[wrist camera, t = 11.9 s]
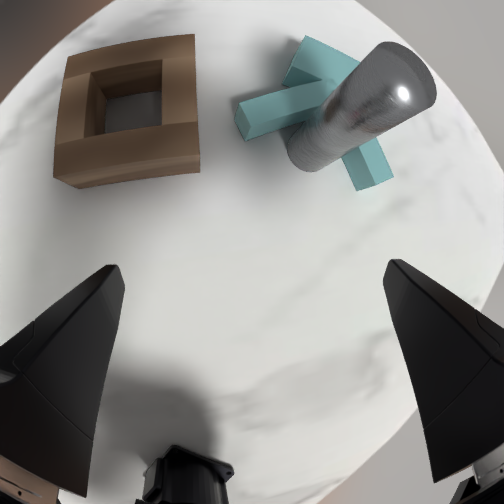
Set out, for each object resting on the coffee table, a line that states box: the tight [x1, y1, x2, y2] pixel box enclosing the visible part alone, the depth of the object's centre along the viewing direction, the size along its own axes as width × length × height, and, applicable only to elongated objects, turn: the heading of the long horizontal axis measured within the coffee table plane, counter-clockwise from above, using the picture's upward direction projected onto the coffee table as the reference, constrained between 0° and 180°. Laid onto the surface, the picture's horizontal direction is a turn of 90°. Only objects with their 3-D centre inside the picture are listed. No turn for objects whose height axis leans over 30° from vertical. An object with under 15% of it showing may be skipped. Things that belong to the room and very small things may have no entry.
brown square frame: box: [53, 34, 200, 189], centre depth 18 cm, size 10×10×4 cm
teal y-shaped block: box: [234, 35, 394, 191], centre depth 21 cm, size 10×13×3 cm
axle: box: [287, 42, 437, 172], centre depth 16 cm, size 4×4×13 cm
